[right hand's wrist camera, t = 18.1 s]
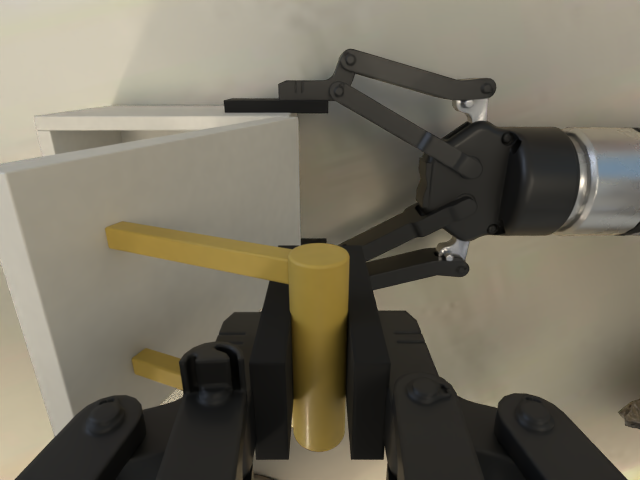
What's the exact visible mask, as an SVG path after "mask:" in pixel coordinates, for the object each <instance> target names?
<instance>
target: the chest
mask: <svg viewBox="0 0 640 480" xmlns="http://www.w3.org/2000/svg"><path fill="white" fill-rule="evenodd" d="M279 116H280V117H297V113H225V109H224V105H125V106H104V107H97V108H89V109H82V110H74V111H67V112H59V113H52V114H45V115H37V116H33V120H34V124H35V128H36V130H38V131H36V133H37V137H38V141H39V145H40V149H41V153H42V157H44V156H49V155H55V154H61V153H67V152H73V151H79V150H85V149H91V148H96V147H102V146H108V145H114V144H120V143H126V142H132V141H138V140H144V139H149V138H155V137H161V136H167V135H173V134H179V133H185V132H191V131H196V130H202V129H208V128H214V127H220V126H226V125H232V124H238V123H243V122H249V121H255V120H261V119H267V118H273V117H279Z"/></svg>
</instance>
